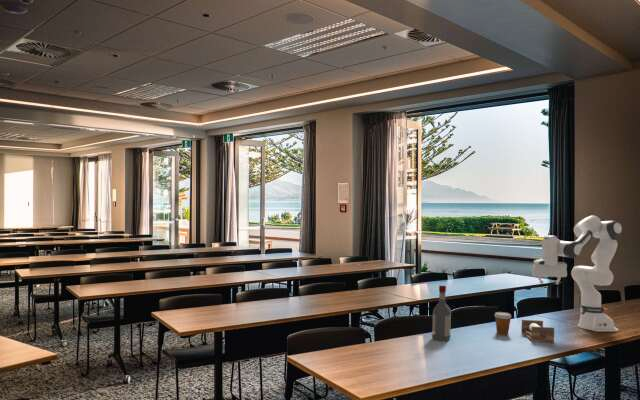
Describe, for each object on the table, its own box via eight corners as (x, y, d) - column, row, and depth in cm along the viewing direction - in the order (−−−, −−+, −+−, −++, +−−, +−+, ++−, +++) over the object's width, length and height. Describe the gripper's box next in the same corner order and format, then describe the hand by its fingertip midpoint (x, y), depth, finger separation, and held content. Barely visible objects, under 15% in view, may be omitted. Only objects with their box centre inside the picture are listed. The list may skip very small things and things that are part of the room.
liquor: (450, 338, 281) (452, 285, 281) (447, 342, 273) (449, 287, 273) (434, 335, 285) (436, 284, 285) (431, 339, 276) (432, 286, 277)
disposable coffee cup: (512, 336, 288) (512, 316, 288) (495, 335, 290) (495, 314, 290) (509, 332, 297) (509, 312, 297) (492, 331, 299) (493, 311, 299)
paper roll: (527, 331, 293) (529, 321, 293) (537, 334, 292) (539, 324, 292) (534, 337, 280) (537, 327, 280) (545, 340, 280) (548, 329, 280)
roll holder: (520, 332, 297) (521, 319, 297) (541, 333, 296) (541, 320, 296) (532, 342, 277) (533, 327, 277) (554, 343, 276) (555, 328, 276)
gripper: (564, 261, 309) (564, 283, 309) (531, 260, 310) (530, 282, 310) (569, 262, 302) (568, 285, 302) (534, 261, 304) (534, 284, 304)
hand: (549, 283), depth 306 cm, fingers open, 8 cm apart
